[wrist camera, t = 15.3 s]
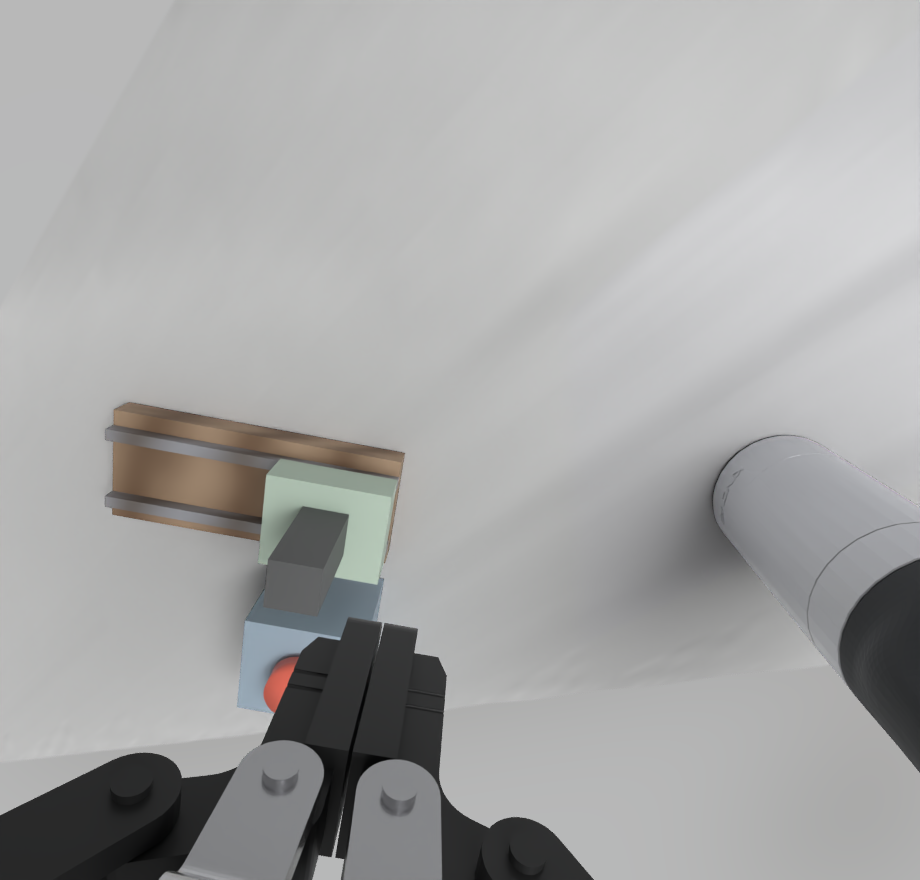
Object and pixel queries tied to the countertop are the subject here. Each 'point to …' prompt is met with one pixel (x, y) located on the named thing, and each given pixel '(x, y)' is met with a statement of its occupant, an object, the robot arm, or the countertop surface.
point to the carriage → (321, 532)
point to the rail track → (216, 468)
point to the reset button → (278, 682)
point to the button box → (297, 633)
